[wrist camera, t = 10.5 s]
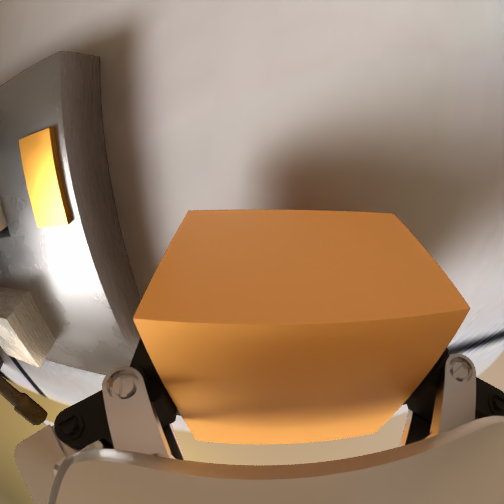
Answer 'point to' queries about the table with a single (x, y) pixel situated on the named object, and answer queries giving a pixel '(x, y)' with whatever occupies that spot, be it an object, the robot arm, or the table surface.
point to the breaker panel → (61, 223)
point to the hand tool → (22, 403)
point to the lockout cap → (294, 322)
